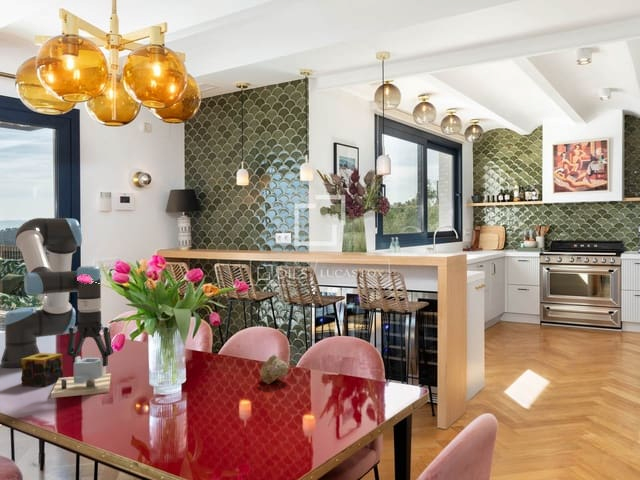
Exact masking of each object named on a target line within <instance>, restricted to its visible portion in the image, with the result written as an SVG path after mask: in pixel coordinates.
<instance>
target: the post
mask: <svg viewBox="0 0 640 480" xmlns="http://www.w3.org/2000/svg"><path fill="white" fill-rule="evenodd" d="M86 387H87V388H90V387H95V379H89V380H88V381H86Z"/></svg>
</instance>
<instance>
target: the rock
mask: <svg viewBox="0 0 640 480" xmlns="http://www.w3.org/2000/svg"><path fill="white" fill-rule="evenodd" d="M290 369H291V367H290V366H289V365H288V363H287V362H286V361H284V360H283V358H280V357H279V356H278V355H276V354H275V353H273V354H272V355H271V356H270V357H269V358H268V360H267V361H266V362H264V363H262V365H261V368H260V371H259V375H260V377H261V380H262V381H263V382H264V383H266V384H268V385H270V384H271V383H273V382H274V381H276V380H279V379H280V378H281V379H283V378H285V377H286V376H288V374H287V373H288V371H289V370H290Z"/></svg>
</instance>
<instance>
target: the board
mask: <svg viewBox="0 0 640 480" xmlns="http://www.w3.org/2000/svg"><path fill="white" fill-rule="evenodd" d="M63 379H66V380H67V388H66V389H62V386H61V380H63ZM111 380H112V373H106V374H105V375H104V376H101V377H100V378H98V379H95V387H90V388H87V387H86V382H84V383H74V376H68V377H62V378H59V379H58V381H57V382H56V383H55V385H54V387H53V388H52V391H51V393H50V399H56V398H64V397H74V396H85V395H94V394H104V393H110V386H111Z"/></svg>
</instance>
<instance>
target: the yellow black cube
mask: <svg viewBox="0 0 640 480" xmlns="http://www.w3.org/2000/svg"><path fill="white" fill-rule="evenodd" d="M21 360H22V367H21V377H20V379H21V386H24V387H40V388H41V387H42V388H46V387H48V386H50V385H53V384H56V383H57V381H58V379H59V378H63V376H64V373H63V371H64V369H63V354H62V353H46V352H45V353H42V352H40V353H39V354H36V355H32V356H29V357H26V358H22V359H21Z"/></svg>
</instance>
